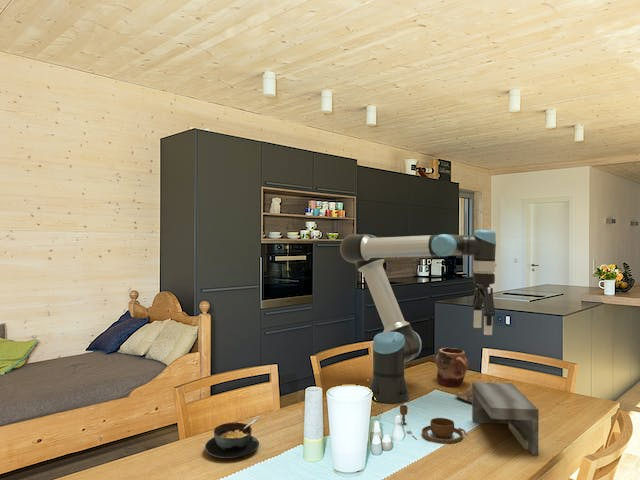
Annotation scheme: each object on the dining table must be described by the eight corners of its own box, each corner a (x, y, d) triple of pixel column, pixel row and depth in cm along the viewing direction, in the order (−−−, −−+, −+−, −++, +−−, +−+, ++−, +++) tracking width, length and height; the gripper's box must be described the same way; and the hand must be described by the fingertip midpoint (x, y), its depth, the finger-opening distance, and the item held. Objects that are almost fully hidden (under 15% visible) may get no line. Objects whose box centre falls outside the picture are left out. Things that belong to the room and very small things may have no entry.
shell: (474, 394, 193) (475, 384, 193) (501, 403, 182) (502, 393, 182) (452, 397, 187) (453, 387, 187) (479, 407, 176) (479, 397, 176)
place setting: (423, 448, 143) (423, 427, 143) (396, 423, 162) (396, 405, 162) (478, 443, 147) (478, 422, 147) (445, 419, 166) (445, 401, 167)
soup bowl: (203, 441, 146) (203, 416, 146) (258, 436, 151) (258, 411, 151) (206, 463, 132) (207, 435, 132) (267, 456, 136) (267, 429, 136)
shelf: (491, 453, 138) (491, 407, 138) (472, 420, 164) (472, 382, 164) (538, 455, 137) (538, 409, 137) (511, 422, 162) (512, 383, 163)
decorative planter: (480, 389, 198) (480, 354, 198) (454, 393, 193) (454, 356, 194) (450, 376, 216) (450, 344, 217) (426, 379, 212) (426, 346, 212)
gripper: (505, 275, 170) (504, 338, 171) (484, 270, 195) (483, 325, 196) (483, 275, 171) (481, 337, 171) (465, 269, 196) (463, 324, 196)
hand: (482, 331), depth 183 cm, fingers open, 13 cm apart
